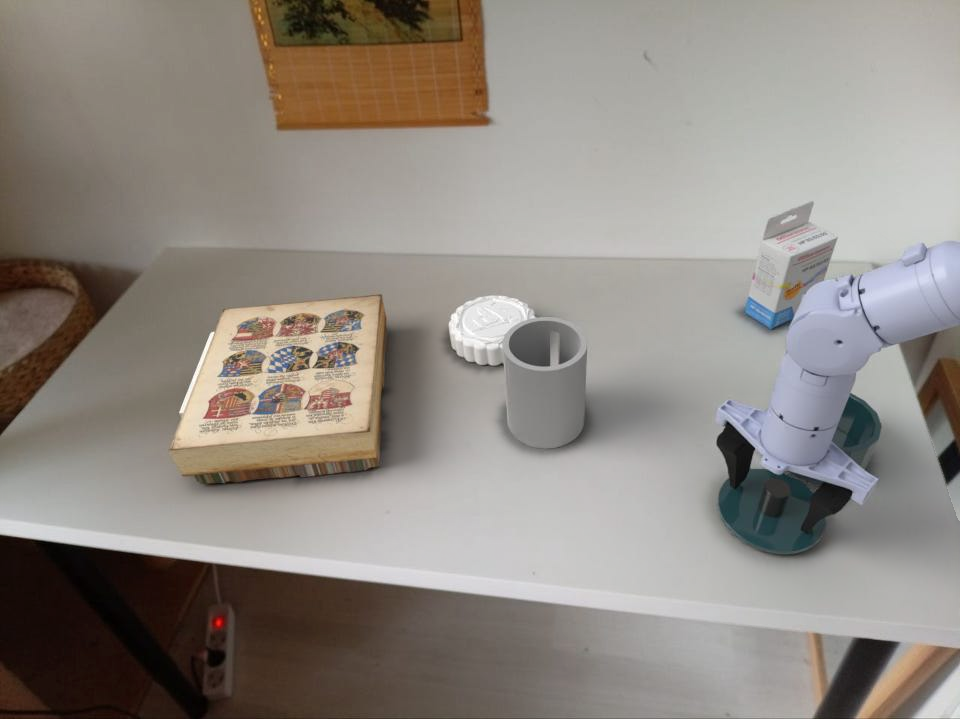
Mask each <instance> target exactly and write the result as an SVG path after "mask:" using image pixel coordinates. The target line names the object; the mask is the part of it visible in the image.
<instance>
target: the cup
mask: <svg viewBox="0 0 960 719" xmlns="http://www.w3.org/2000/svg"><path fill="white" fill-rule="evenodd" d="M551 332H553V333H558V356H557V357H558V359H557V360H558V363H557V365H551ZM587 359H588V339H587V336H586V334H585V333H584V331H583V330H582V329H581V328H580V327H579V326H578V325H576V324H574V323H573V322H571V321H569V320H566V319H562V318H560V317H553V316H552V317H551V316H550V317H549V316H540V317H536V318H532V319H528V320H525V321H523V322H520V323H518V324H516V325H515V326H513V327H512V328H510V329H509V330H508V332H507V333H506V334H505V336H504V339H503V360H504V364H503V373H504V388H505V405H506V419H507V420H506V421H507V427H508V430H509V431H510V433H511V435H512V436H513V437H514V438H515V439H516V440H518V441H519V442H520V443H522V444H523V445H526V446H528V447H532V448H537V449H545V450H548V449H556V448H560V447H564V446H566V445H568V444H570V443H571V442H573V441H574V440H575V439H576V438H578V437H579V436H580V434H581V433H582V431H583V429H584V425H585V410H586V385H587V364H588V363H587V362H588V360H587Z"/></svg>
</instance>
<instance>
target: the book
mask: <svg viewBox="0 0 960 719" xmlns="http://www.w3.org/2000/svg"><path fill="white" fill-rule="evenodd" d="M387 337H388V328H387V314H386V309H385V304H384V298H383V294H380V293H379V294H371V295H370V294H369V295H360V296H359V295H358V296H350V297H339V298H327V299H318V300H306V301H295V302H285V303H276V304H275V303H273V304H264V305H253V306H242V307H233V308H223V309H222V311H221V314H220V317H219V319H218V322H217V325H216V327H215V329H214V331H211V332H209V335H208V339H207V341H206V344H205V345H204V349H203V351H202V353H201V356H200V358H199V361H198V364H197V366H196V368H195V372H194V373H193V377H192V378H191V381H190V383H189V386H188V389H187V392H186V394H185V397H184V399H183V402H182V404H181V407H180V409H179V412H178V414H179V417H180V421H179V423H178V426H177V429H176V431H175V433H174V436H173V438H172V441H171V444H170V447H169V450H168V452H169V455H170V456H171V458H172V460H173V462H174V464H175V465H176V467H177V469H178V471H179V473H180V475H181V476H182V477H189V476H194V478H195V479H196V482H198V483H199V484H201V485H206V484H226V483H227V482H233V483H241V482H245V481H253V480H255V481H256V480H262V479H275V478H280V479H282V478H290V477H297V476H300V478H308V477H315V476H322V475H332V474H333V475H334V474H336V473H355V472H361V471H367V470H368V469H370V468H376V467H379V466H380V458H381V457H380V456H381V451H380V450H381V442H382V441H381V439H382V425H383V423H382V422H383V421H382V420H383V416H382V411H381V401H382V391H383V389H384V388H385V374H386V371H385V368H386V350H387V342H388V341H387V340H388V339H387Z"/></svg>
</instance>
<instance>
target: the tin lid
mask: <svg viewBox="0 0 960 719" xmlns="http://www.w3.org/2000/svg"><path fill="white" fill-rule="evenodd" d="M814 493H815V492H814V491H813V490H811V489H810V488H809V487H808V486H807V485H806V484H804V483H803V482H802V481H800V480H799V479H797V478H795V477H793V476H792V475H790V474H787V473H785V472H784V473H783V474H781V475H777V474H775V473H773V472H771V471H769V470H768V469H766V468H750V470H749V473H748V475H747V477H746V479H745V480H744V481H743V482H742V483H741V484H740V485H739V486H738V487H737V488H736V489H734V488H732V487H731V486H730V481H729V477H728V478H727V479H726V480H725V481H724V482H723V483H722V485H721V487H720V488H719V492H718V494H717V500H716V501H717V502H716V503H717V510H718V514H719V516H720V519H721V520H722V522H723V524H724V525H725V527H726V528H727V529H728V530H729V532H731V533H732V534H733V535H734V536H735V537H736V538H737V539H739V540H740V541H741V542H742V543H745V544H746V545H748V546H750V547H752V548H754V549H756V550H759V551H762V552H764V553H765V552H766V553H770V554H776V555H795V554H800V553H802V552H806V551H808V550H809V549H811V548H812V547H814V546H815V545H817V543H819V541H820V540H821V539H822V537H823V535H824V532H825V530H826V526H827V517H825V518H823V519H821V520H820V521H818V522H817V523H816V525H815V526H814V527H813V528H812V529H811V531H810V532H809V533H808V534H806V533H804V532H803V531H801V525H802V524H803V522H804V520H805V518H806V516H807V514H808V511H809V507H810V498H811V496H812V495H813V494H814Z"/></svg>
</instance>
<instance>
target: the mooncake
mask: <svg viewBox="0 0 960 719" xmlns="http://www.w3.org/2000/svg"><path fill="white" fill-rule="evenodd" d="M535 314H536V313H535V310H534V309H533V308H531V307H530V306H529V305H528V303H526V302H524V301H520V299H518V298H516V297H509V296H507V295H493V294H492V295H485V296H478V297H476V298H475V299H474V300H468V301H466V302H465V303H463V305H460V306H458V307H457V308H456V309H455V312H453V313H452V314H451V315H450V321H449V322H448V332H449V337H450V340H449V341H450V343H451V348H452V350H454V351H456V354H457V356H458V357H459V358H464V359H465V360H466V361H467V362H468V363H476V364H477V365H479V366H486V365H489V366H492V367H497V366H499V365H501V364H503V365H504V360H503V339H504V336H505V334H506V333H507V332H508V330H509V329H510V328H512V327H513V326H515V325H516V324H518V323H520V322H523V321H525V320H528V319H532V318H537V316H536V315H535Z"/></svg>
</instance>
